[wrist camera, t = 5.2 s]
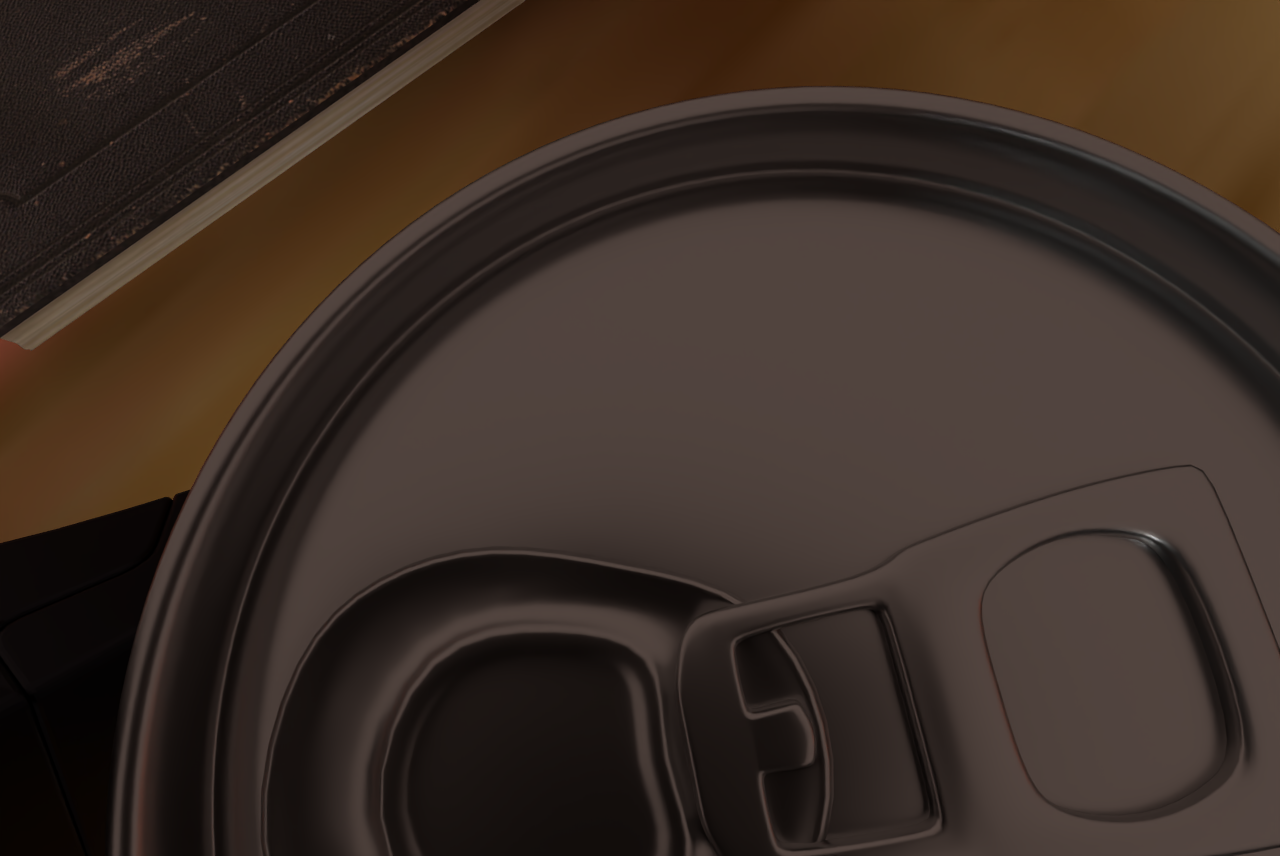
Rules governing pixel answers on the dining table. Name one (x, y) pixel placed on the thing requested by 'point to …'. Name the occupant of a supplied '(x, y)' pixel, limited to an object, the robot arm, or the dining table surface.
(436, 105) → the dining table surface
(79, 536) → the robot arm
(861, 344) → the can
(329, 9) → the hardcover book
